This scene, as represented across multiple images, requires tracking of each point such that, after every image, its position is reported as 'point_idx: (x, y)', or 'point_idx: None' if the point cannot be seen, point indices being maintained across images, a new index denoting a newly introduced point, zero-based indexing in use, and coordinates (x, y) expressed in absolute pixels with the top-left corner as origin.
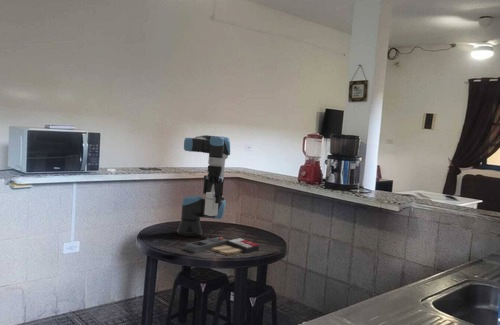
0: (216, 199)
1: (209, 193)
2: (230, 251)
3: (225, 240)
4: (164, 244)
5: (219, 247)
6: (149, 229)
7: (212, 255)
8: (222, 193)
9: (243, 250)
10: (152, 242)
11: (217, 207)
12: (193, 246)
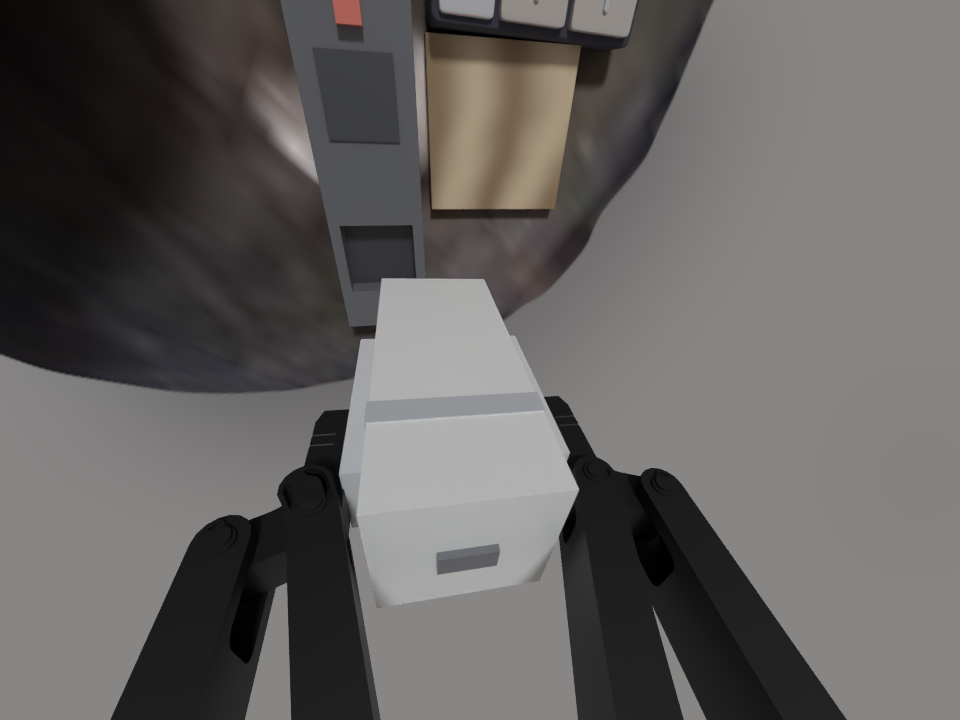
0: None
1: (467, 585)
2: (546, 164)
3: (400, 1)
4: (227, 341)
5: (453, 155)
6: None
7: (498, 267)
8: (705, 522)
9: (590, 46)
10: (170, 367)
11: (519, 348)
12: None
